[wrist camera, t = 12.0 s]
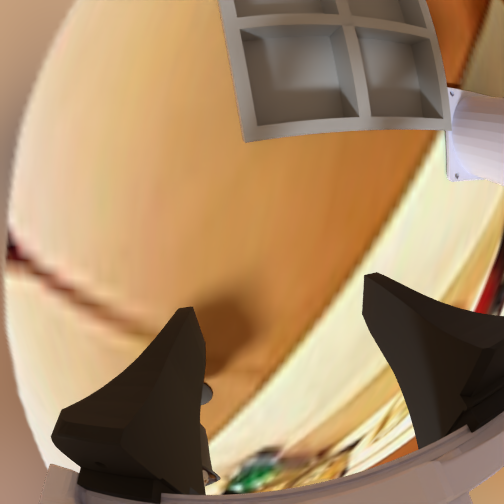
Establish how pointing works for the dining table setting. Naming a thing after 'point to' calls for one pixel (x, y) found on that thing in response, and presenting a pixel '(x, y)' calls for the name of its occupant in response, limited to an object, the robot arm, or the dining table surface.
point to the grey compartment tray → (334, 66)
